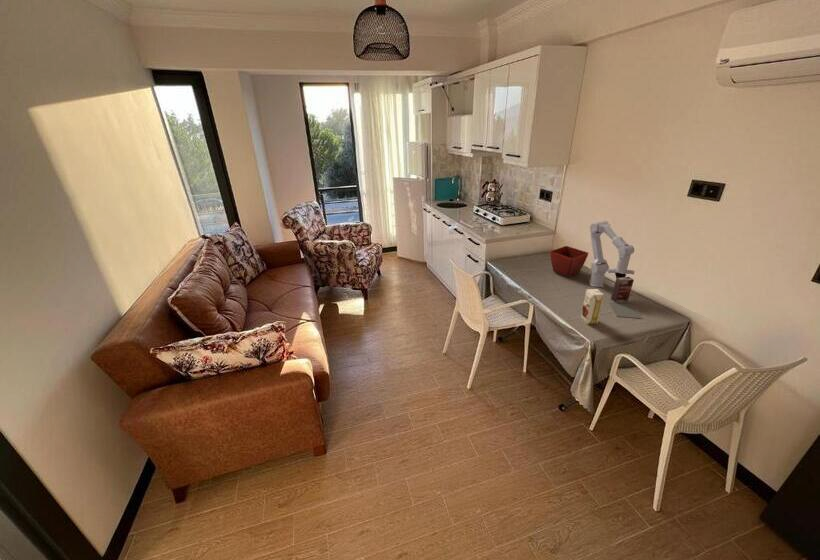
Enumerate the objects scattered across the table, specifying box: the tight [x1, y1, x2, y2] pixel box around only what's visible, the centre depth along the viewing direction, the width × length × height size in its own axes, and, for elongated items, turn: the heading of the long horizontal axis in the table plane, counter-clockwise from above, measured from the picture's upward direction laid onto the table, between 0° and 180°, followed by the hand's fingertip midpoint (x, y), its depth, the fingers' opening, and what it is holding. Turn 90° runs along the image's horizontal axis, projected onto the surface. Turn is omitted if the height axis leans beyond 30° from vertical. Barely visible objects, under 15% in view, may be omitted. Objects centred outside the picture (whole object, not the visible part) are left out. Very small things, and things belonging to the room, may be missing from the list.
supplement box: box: [610, 276, 635, 304], centre depth 204 cm, size 9×5×16 cm, turn 97°
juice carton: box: [580, 288, 605, 325], centre depth 185 cm, size 8×9×19 cm
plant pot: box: [550, 245, 589, 278], centre depth 245 cm, size 19×19×17 cm
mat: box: [608, 302, 643, 320], centre depth 197 cm, size 16×13×1 cm
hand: (617, 283), depth 211 cm, fingers closed
